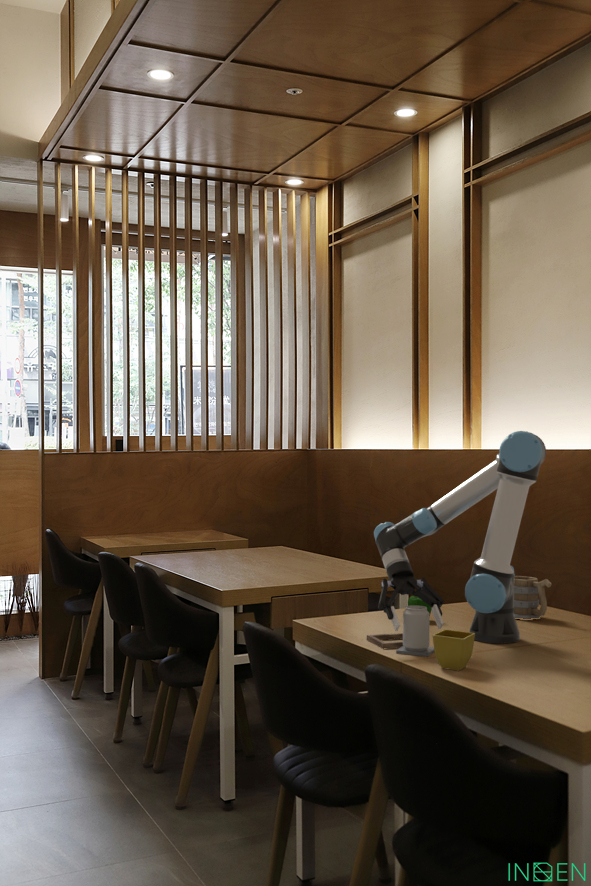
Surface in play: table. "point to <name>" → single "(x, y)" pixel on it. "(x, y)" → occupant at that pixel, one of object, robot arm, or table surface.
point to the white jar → (416, 628)
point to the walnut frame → (378, 637)
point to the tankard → (529, 597)
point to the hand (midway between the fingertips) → (419, 627)
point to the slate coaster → (419, 653)
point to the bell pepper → (418, 603)
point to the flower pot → (453, 648)
